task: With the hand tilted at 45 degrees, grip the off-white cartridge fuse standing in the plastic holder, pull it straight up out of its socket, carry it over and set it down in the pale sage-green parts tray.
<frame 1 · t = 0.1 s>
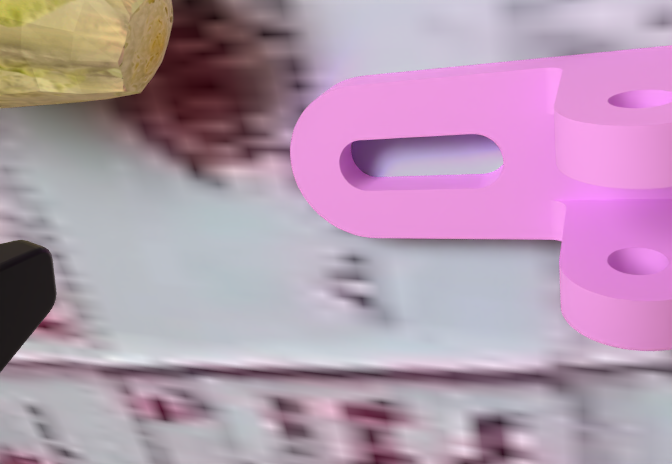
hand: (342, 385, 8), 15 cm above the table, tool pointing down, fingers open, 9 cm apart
bracket: (482, 144, 22), on the table
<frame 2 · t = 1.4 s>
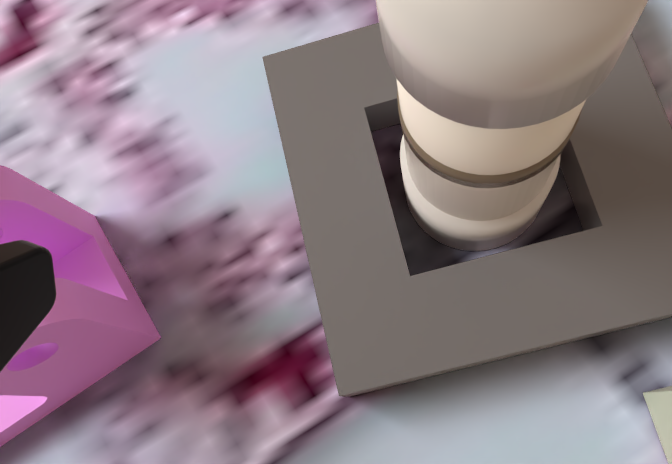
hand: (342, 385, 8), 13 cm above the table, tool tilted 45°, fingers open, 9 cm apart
fuse: (487, 99, 16), in the fuse holder
fuse holder: (473, 184, 22), on the table
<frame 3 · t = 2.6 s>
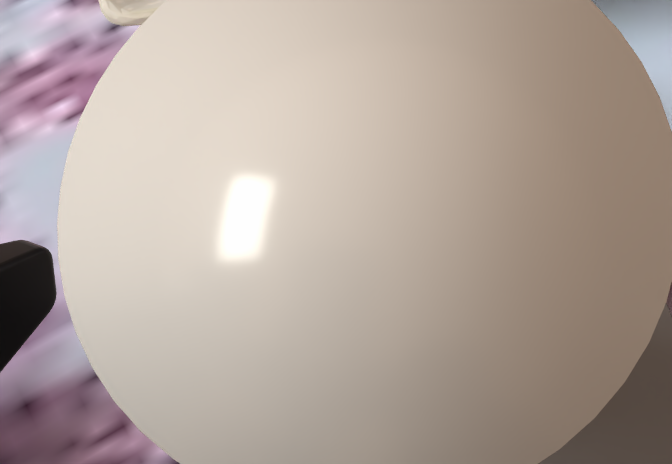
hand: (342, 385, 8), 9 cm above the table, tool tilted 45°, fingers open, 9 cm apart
fuse: (395, 309, 11), in the fuse holder
fuse holder: (409, 346, 17), on the table
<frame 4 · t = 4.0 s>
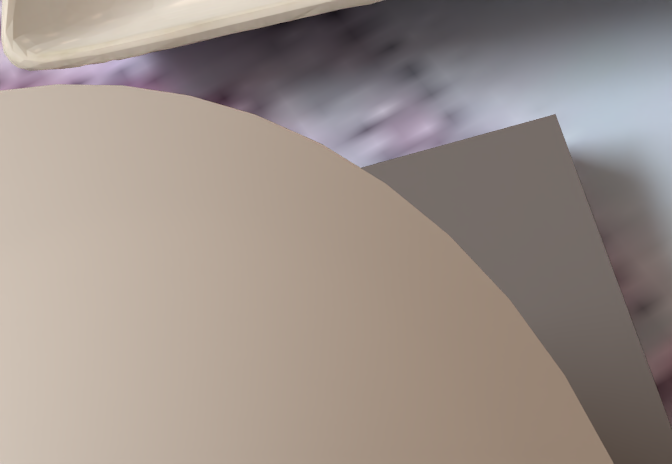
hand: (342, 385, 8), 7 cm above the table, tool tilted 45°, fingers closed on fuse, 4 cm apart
fuse holder: (364, 454, 15), on the table
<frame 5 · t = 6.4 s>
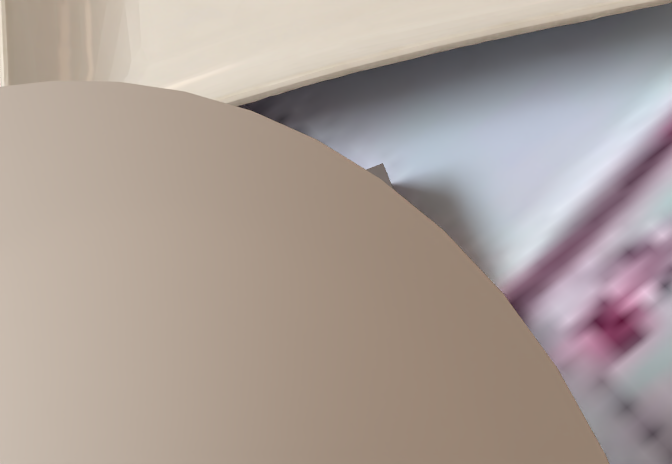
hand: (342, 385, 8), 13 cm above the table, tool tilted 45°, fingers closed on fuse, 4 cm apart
when the fingers open (9 cm above the table, at t = 8.8 s): fuse drops 1 cm, resting on parts tray.
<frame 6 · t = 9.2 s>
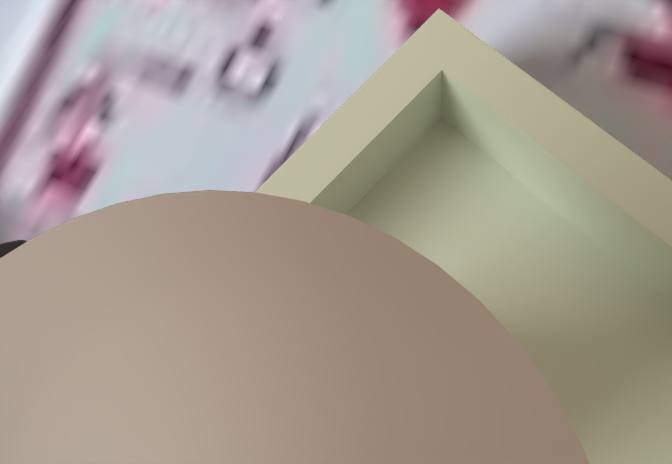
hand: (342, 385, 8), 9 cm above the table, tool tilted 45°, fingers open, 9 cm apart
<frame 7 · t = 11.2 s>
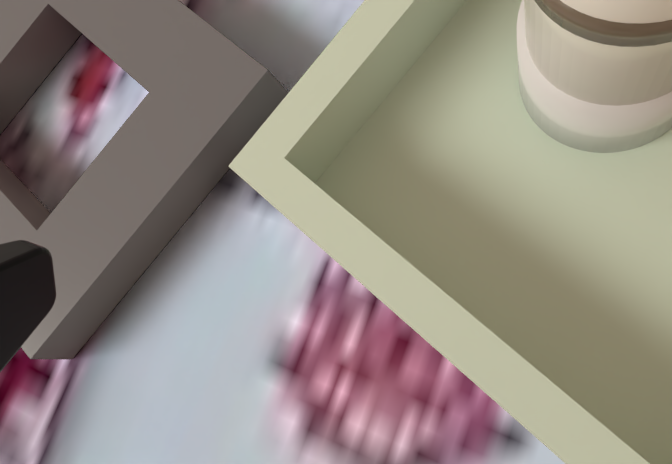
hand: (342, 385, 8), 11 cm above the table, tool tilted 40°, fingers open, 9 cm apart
fuse holder: (80, 131, 24), on the table
parts tray: (662, 121, 18), on the table
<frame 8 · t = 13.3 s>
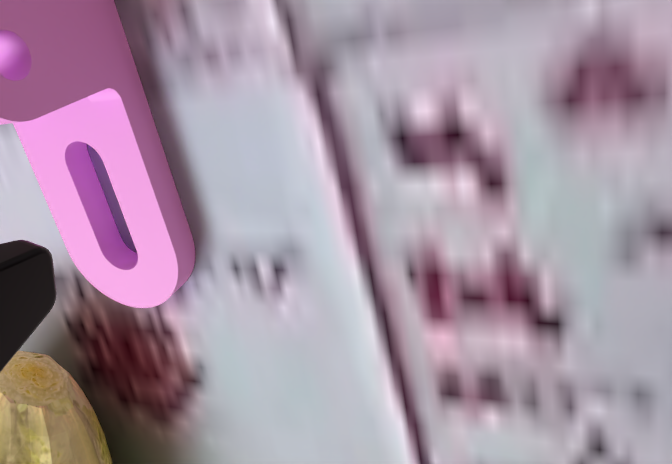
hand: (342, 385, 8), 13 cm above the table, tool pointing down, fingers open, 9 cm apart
bracket: (111, 149, 26), on the table
lettuce: (71, 461, 38), on the table
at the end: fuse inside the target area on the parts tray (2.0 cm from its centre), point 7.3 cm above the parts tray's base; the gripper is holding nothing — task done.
